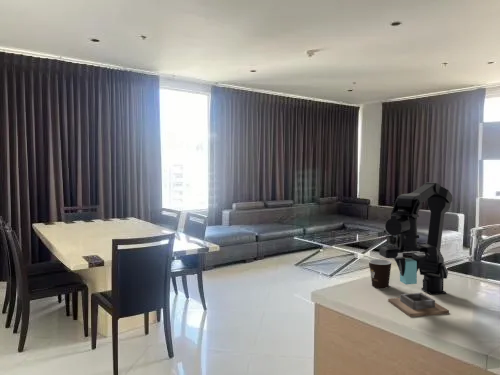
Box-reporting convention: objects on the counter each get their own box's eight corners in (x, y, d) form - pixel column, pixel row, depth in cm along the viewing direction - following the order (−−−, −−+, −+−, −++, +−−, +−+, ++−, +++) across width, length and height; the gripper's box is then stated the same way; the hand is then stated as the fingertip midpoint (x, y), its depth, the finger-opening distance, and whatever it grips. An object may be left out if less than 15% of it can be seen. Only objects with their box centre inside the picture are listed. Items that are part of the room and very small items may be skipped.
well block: (423, 298, 139) (423, 289, 138) (448, 313, 125) (449, 303, 125) (388, 301, 137) (388, 292, 136) (409, 316, 123) (409, 306, 123)
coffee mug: (393, 289, 149) (393, 265, 148) (370, 288, 150) (370, 264, 150) (388, 280, 160) (388, 257, 159) (367, 279, 162) (367, 257, 161)
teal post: (410, 280, 134) (410, 258, 134) (416, 283, 130) (416, 261, 130) (399, 280, 134) (399, 258, 133) (405, 284, 130) (405, 261, 129)
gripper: (420, 226, 140) (420, 267, 141) (372, 228, 138) (372, 270, 139) (438, 231, 129) (438, 276, 130) (386, 234, 127) (387, 279, 128)
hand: (408, 275), depth 132 cm, fingers closed on teal post, 4 cm apart
